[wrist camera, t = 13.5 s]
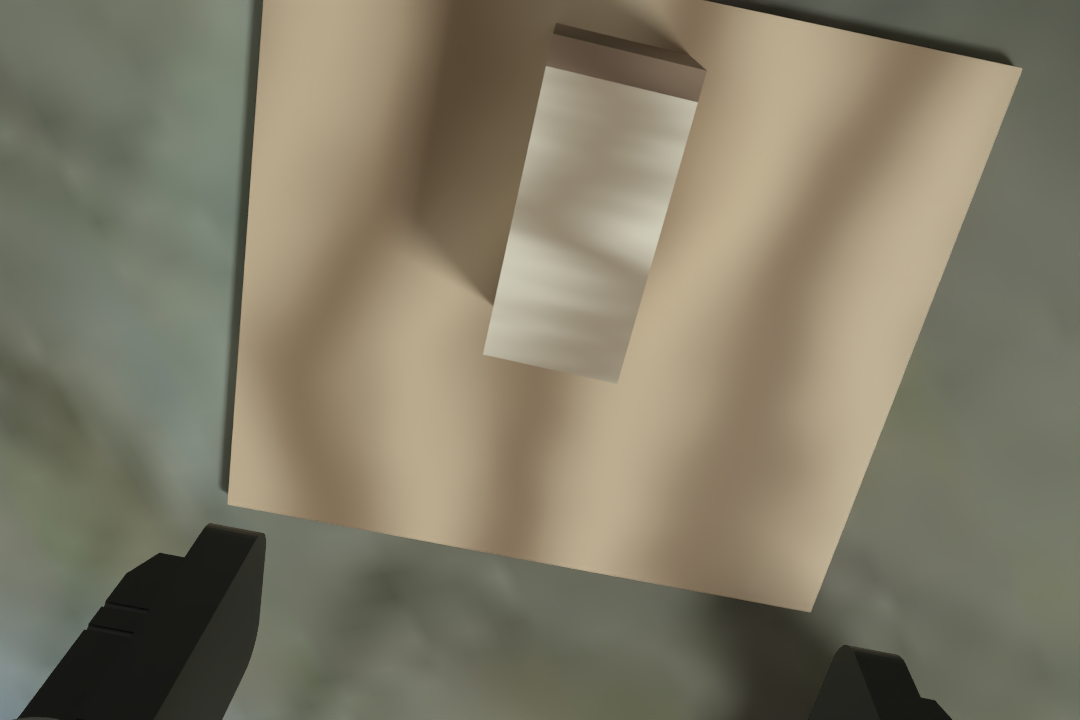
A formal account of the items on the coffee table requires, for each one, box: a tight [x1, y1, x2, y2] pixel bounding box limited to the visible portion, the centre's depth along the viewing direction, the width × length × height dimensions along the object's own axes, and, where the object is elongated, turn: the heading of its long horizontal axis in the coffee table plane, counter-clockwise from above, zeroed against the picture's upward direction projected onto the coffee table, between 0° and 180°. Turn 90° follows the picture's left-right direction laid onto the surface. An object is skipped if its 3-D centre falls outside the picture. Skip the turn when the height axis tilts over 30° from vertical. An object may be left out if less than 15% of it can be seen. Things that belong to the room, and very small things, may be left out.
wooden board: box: [228, 0, 1023, 612], centre depth 31 cm, size 22×20×1 cm
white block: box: [483, 23, 707, 384], centre depth 27 cm, size 4×4×9 cm
